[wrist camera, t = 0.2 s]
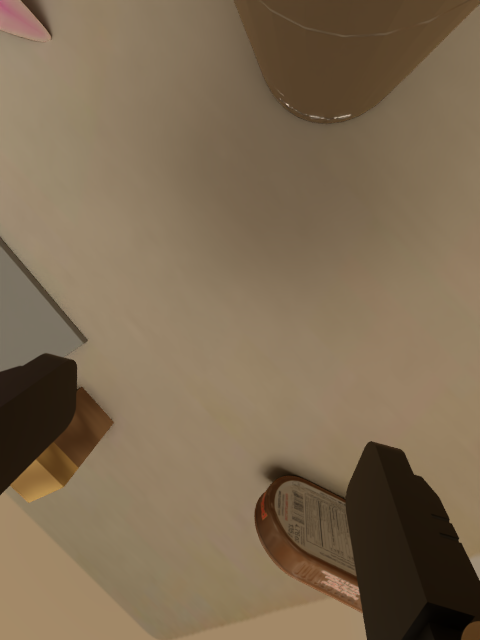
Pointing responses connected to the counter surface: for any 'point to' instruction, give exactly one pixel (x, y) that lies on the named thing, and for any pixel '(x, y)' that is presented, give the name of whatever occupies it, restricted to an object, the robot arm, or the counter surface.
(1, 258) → the mat
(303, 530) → the tin
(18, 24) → the lily
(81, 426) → the block
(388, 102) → the counter surface
